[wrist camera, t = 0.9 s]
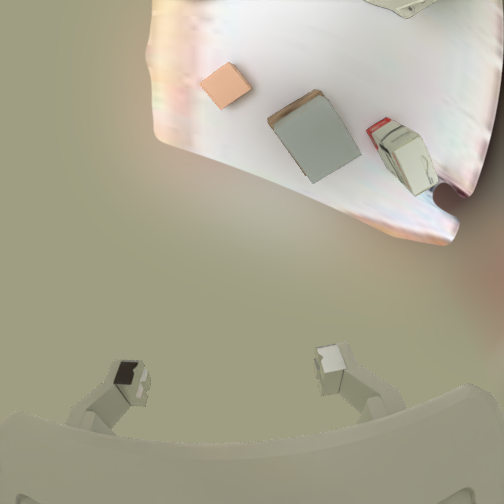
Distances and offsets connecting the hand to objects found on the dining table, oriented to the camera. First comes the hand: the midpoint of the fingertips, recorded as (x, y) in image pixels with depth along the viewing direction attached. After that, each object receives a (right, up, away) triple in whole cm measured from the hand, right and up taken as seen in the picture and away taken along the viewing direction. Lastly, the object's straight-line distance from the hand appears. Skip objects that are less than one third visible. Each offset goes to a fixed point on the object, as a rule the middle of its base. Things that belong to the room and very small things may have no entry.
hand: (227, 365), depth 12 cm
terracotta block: (-2, +31, +25) cm, 40 cm away
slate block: (+10, +22, +25) cm, 35 cm away
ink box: (+24, +24, +29) cm, 45 cm away
